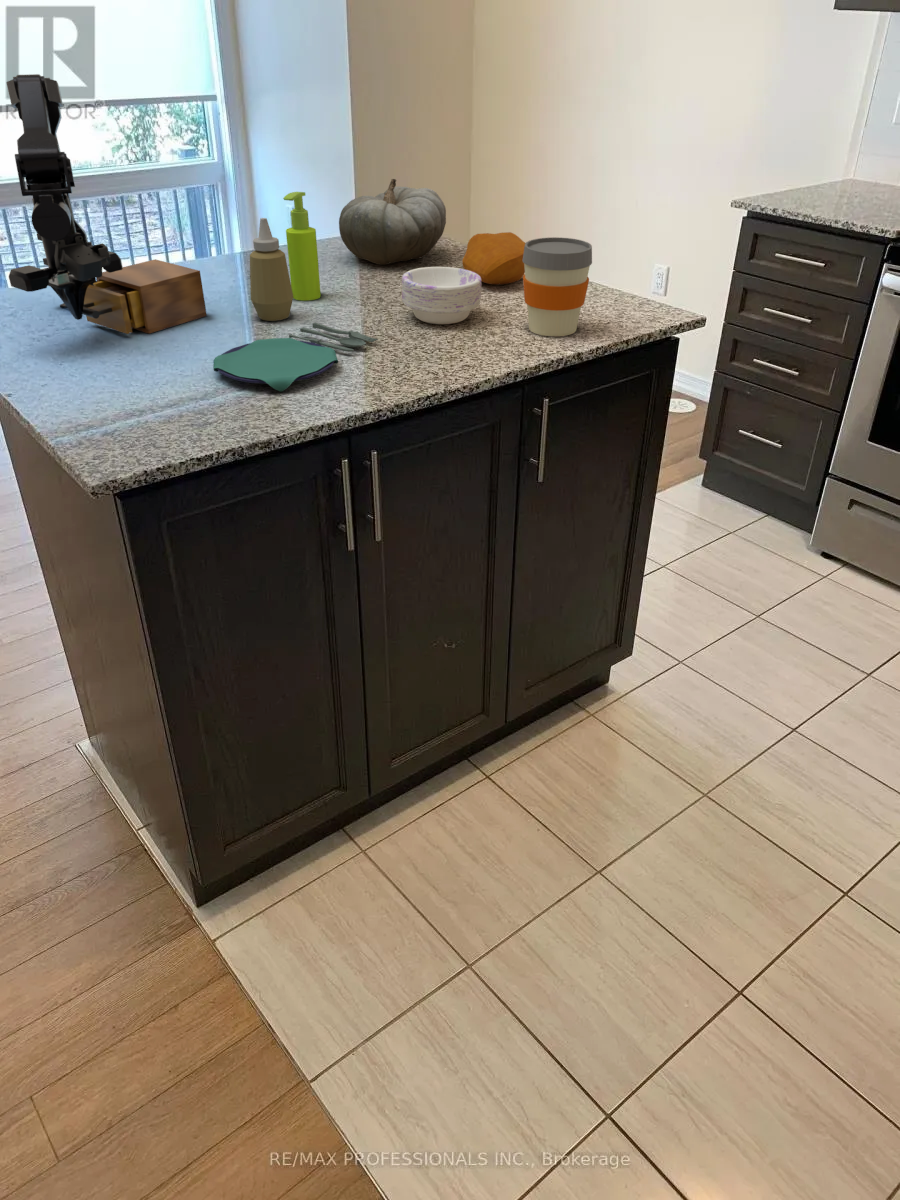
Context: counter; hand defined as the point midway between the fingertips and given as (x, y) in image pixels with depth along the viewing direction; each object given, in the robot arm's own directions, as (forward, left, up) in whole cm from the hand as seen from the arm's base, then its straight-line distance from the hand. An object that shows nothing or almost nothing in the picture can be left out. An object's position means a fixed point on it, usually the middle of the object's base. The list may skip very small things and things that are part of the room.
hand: (78, 319), depth 161 cm
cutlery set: (+42, +2, -4) cm, 42 cm away
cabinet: (+6, +15, -4) cm, 17 cm away
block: (+4, +10, -2) cm, 11 cm away
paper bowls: (+58, +33, -4) cm, 67 cm away
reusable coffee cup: (+80, +33, -4) cm, 87 cm away
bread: (+60, +62, -4) cm, 86 cm away
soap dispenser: (+27, +37, -4) cm, 46 cm away
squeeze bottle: (+27, +23, -4) cm, 36 cm away
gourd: (+33, +72, -4) cm, 79 cm away
